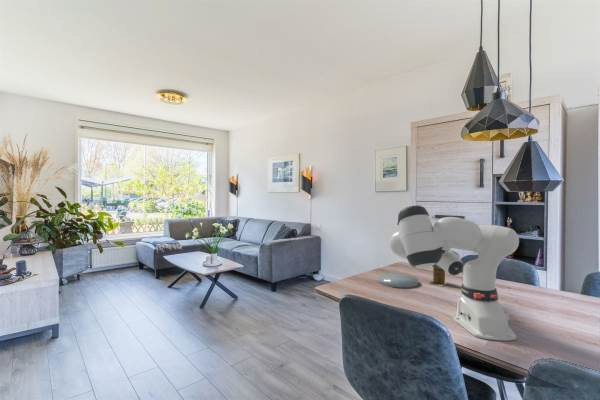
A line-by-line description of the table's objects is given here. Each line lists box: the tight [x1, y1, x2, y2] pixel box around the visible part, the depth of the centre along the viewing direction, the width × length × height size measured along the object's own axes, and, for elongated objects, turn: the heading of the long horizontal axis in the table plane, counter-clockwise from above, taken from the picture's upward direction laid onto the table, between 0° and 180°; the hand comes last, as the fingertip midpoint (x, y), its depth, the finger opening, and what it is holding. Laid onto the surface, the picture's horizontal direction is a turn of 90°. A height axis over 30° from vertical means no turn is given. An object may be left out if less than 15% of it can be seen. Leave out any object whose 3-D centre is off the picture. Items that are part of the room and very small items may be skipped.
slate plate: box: [377, 272, 419, 289], centre depth 170 cm, size 22×22×2 cm
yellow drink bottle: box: [429, 267, 448, 287], centre depth 167 cm, size 7×8×12 cm
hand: (431, 243), depth 157 cm, fingers open, 8 cm apart
